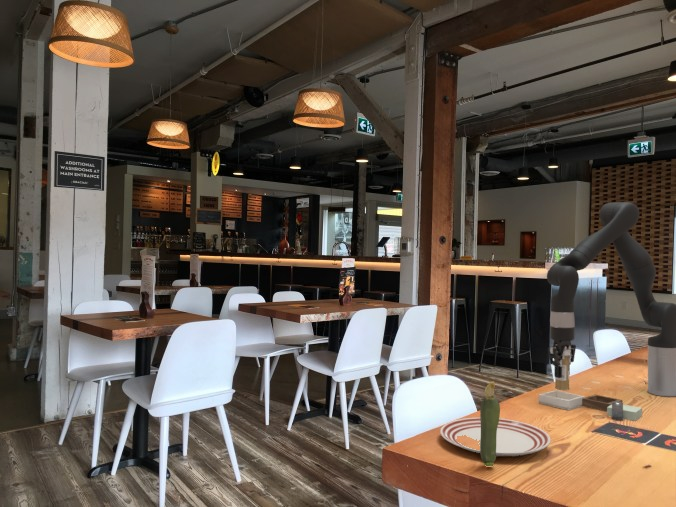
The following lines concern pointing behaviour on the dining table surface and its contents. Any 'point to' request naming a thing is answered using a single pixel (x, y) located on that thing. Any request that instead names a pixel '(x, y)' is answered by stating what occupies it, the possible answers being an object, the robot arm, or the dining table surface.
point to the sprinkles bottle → (563, 374)
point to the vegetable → (489, 425)
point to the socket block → (598, 402)
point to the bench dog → (617, 410)
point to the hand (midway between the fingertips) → (562, 376)
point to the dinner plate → (499, 436)
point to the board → (628, 412)
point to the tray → (561, 400)
